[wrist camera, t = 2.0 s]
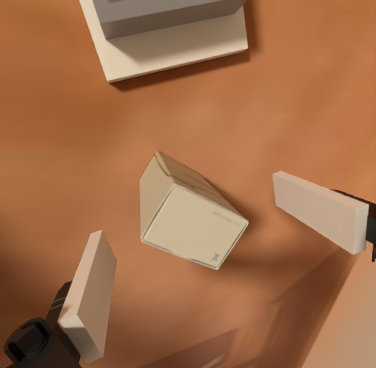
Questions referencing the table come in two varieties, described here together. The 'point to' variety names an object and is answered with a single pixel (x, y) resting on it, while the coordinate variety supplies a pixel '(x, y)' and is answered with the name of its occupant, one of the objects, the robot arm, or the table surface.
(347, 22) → the table surface
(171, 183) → the skincare box
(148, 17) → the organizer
